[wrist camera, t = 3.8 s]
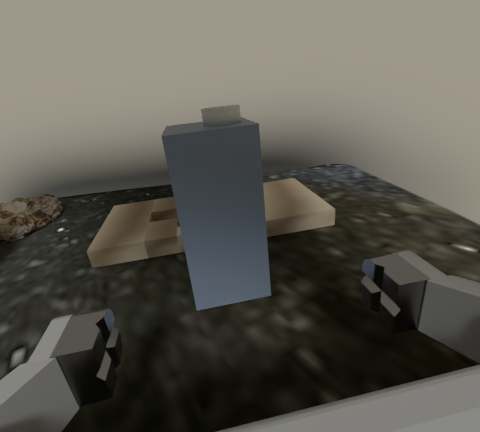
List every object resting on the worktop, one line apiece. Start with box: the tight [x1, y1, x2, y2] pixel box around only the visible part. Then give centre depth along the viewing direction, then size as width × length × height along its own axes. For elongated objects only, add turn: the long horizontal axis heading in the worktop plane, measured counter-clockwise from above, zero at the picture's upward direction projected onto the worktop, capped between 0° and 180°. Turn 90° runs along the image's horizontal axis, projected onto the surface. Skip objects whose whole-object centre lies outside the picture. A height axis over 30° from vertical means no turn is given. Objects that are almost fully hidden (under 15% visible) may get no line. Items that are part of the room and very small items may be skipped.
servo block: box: [162, 105, 271, 311], centre depth 17 cm, size 4×4×11 cm
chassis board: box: [87, 178, 335, 268], centre depth 28 cm, size 20×10×2 cm, turn 101°
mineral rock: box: [0, 194, 63, 244], centre depth 32 cm, size 11×4×8 cm
